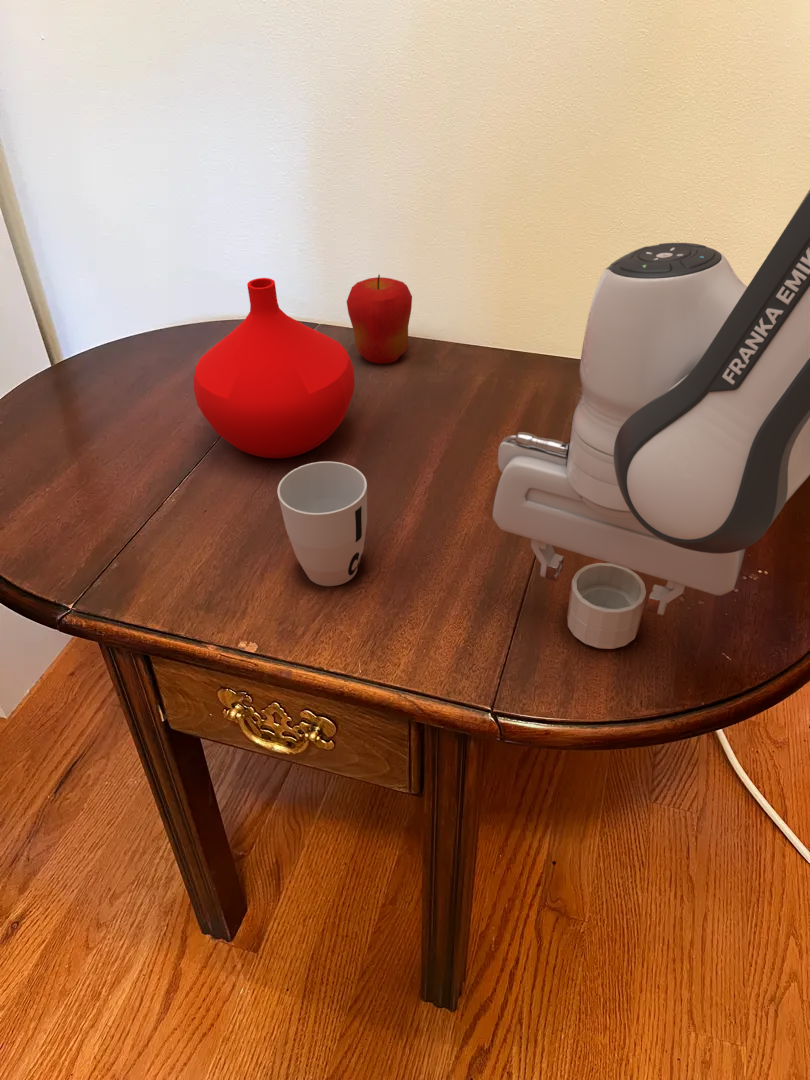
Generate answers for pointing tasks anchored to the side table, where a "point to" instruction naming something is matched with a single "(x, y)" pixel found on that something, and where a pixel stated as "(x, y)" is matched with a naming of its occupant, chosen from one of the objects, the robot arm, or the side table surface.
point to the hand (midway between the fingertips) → (602, 591)
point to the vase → (274, 381)
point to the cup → (325, 519)
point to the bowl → (605, 605)
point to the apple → (380, 318)
